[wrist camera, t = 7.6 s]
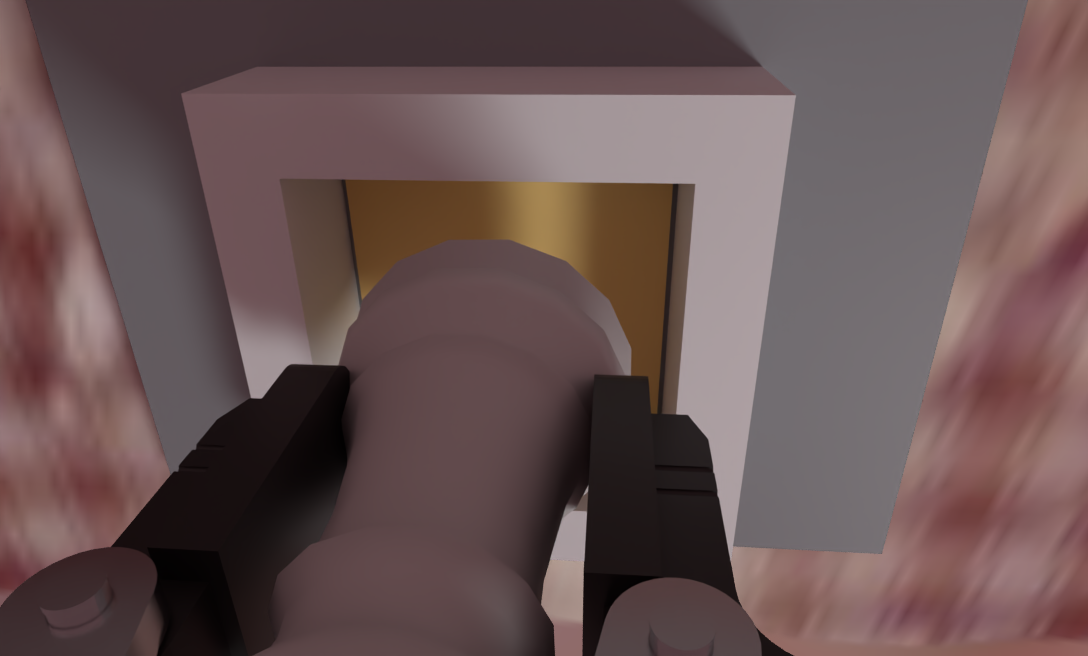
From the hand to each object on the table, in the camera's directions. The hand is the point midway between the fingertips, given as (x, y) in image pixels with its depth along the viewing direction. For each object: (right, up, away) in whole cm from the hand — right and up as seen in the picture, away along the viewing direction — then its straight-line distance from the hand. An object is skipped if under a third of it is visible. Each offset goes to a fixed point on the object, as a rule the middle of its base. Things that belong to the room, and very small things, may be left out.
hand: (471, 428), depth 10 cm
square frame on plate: (0, +2, +5) cm, 6 cm away
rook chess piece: (0, +1, +2) cm, 2 cm away
